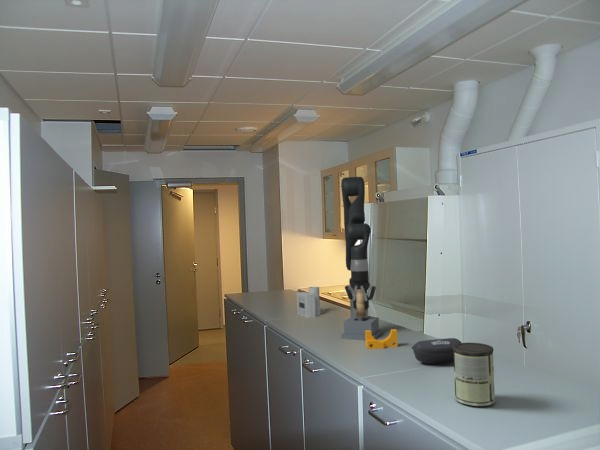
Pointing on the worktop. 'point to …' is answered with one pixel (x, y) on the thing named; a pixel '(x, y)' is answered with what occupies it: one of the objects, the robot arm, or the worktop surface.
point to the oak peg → (360, 304)
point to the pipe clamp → (380, 344)
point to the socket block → (361, 327)
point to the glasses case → (435, 350)
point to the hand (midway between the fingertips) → (361, 309)
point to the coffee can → (474, 374)
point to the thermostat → (309, 303)
